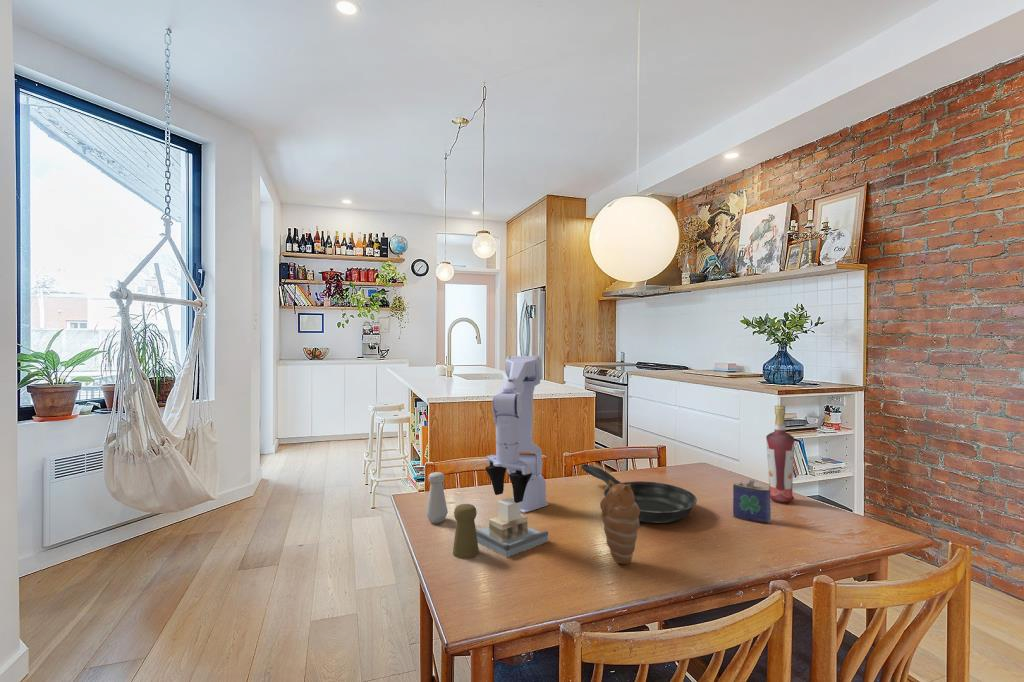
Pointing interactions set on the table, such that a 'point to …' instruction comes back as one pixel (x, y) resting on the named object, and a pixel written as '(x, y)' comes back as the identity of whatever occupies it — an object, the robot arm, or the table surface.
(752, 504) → the flask
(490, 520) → the block
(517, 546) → the dock
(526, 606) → the table surface
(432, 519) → the salt shaker
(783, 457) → the liquor
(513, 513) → the white cube
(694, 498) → the frying pan
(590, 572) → the table surface
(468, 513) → the pepper shaker
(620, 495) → the cat ice cream
